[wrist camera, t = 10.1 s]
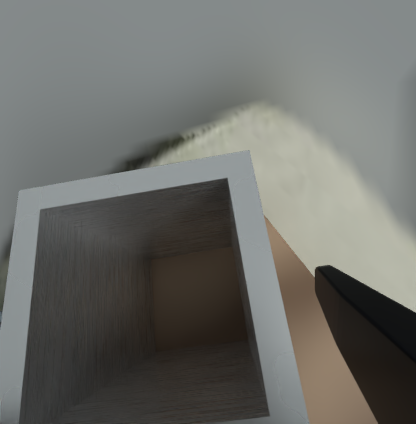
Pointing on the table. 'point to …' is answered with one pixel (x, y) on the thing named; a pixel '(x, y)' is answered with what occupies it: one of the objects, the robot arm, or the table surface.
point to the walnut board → (236, 328)
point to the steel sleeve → (140, 303)
